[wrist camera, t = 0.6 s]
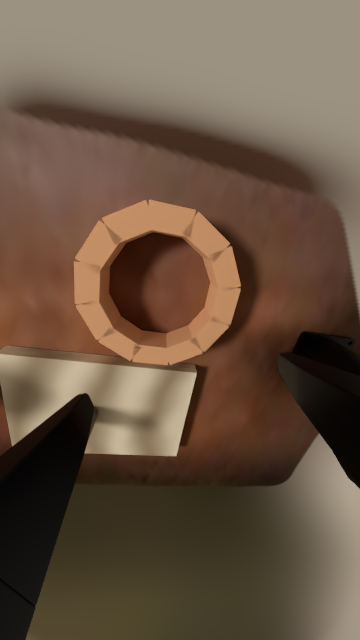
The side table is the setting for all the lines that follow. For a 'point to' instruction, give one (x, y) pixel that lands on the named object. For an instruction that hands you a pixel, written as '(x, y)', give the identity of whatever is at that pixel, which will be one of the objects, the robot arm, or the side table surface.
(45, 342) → the side table surface
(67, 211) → the side table surface
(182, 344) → the orange segmented ring
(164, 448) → the cream flat pegged piece
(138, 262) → the side table surface
